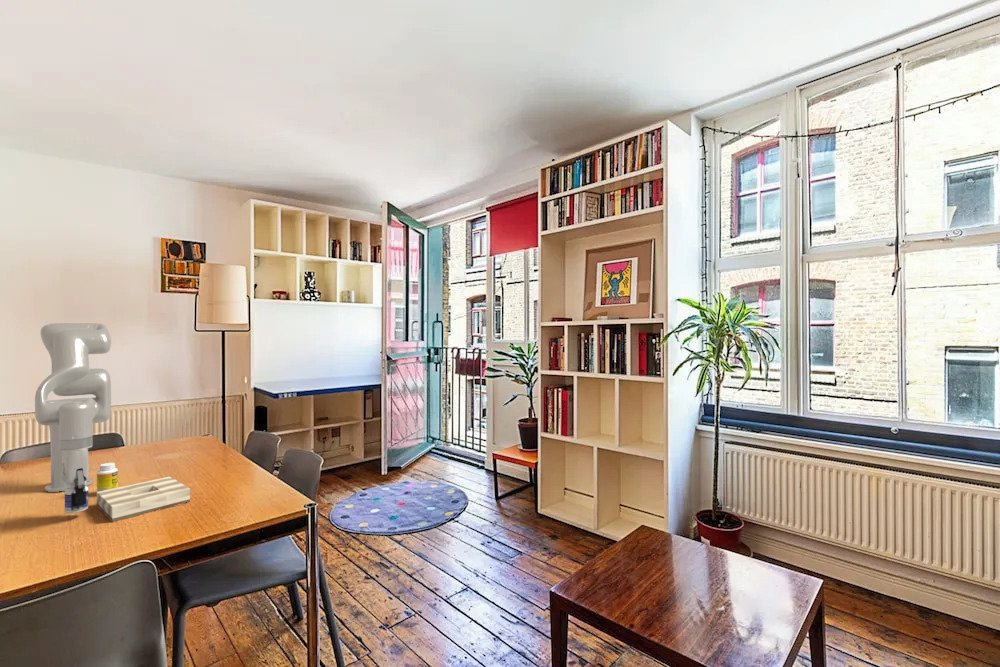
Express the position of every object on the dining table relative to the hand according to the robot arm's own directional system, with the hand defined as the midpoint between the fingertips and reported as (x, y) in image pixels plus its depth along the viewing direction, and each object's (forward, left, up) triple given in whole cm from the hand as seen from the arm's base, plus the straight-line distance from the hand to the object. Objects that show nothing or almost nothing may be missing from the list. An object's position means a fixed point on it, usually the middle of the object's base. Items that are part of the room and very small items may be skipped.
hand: (76, 501), depth 140 cm
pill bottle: (0, 0, -3) cm, 3 cm away
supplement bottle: (-19, +11, -5) cm, 23 cm away
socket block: (+3, +16, -5) cm, 17 cm away
